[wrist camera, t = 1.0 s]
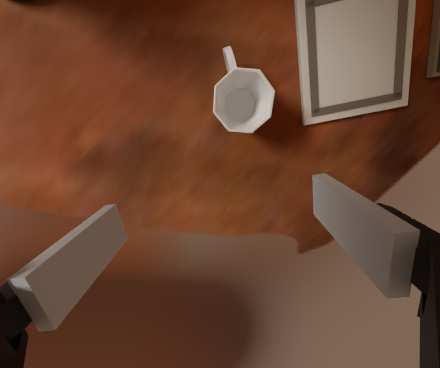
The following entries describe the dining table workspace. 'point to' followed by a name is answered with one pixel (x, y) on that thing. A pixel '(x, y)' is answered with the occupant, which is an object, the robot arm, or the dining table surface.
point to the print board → (353, 56)
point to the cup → (242, 97)
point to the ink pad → (434, 43)
